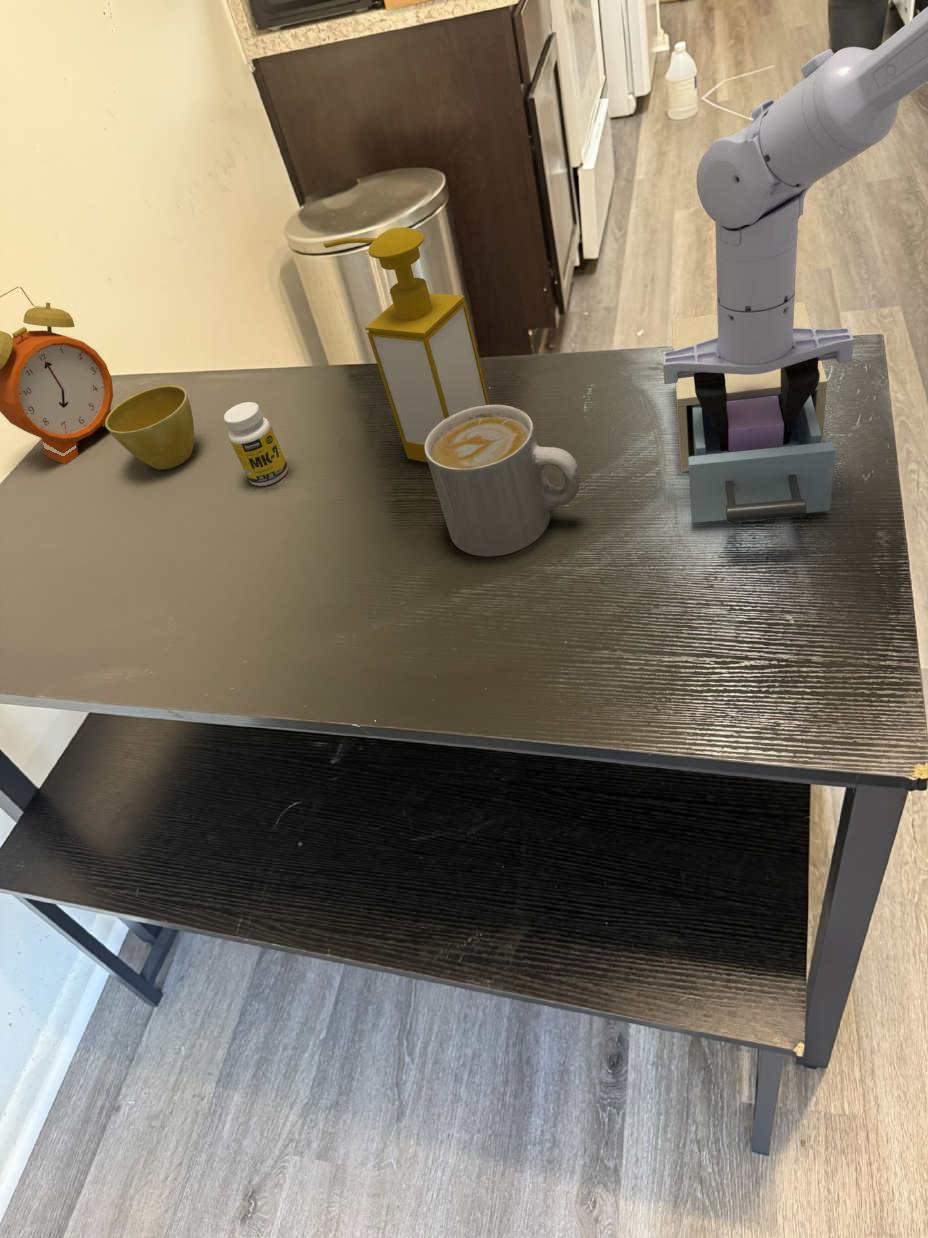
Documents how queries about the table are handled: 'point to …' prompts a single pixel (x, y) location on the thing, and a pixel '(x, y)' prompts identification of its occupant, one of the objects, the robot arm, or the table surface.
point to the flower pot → (155, 426)
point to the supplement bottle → (255, 444)
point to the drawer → (760, 473)
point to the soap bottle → (421, 345)
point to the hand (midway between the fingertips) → (753, 441)
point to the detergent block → (754, 424)
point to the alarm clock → (53, 383)
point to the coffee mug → (495, 479)
